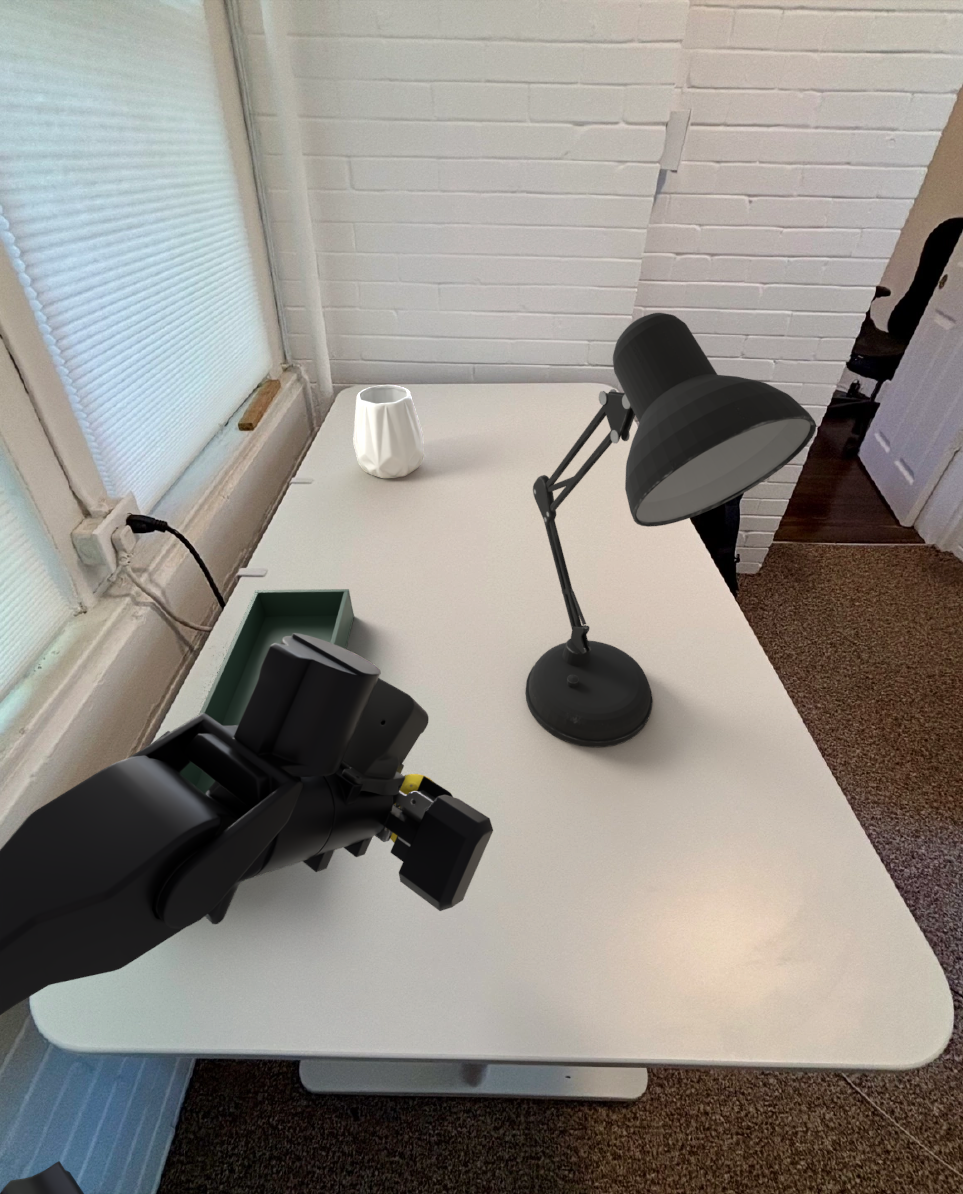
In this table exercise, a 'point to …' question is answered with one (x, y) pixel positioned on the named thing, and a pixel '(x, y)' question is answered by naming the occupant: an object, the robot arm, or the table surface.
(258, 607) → the green rectangular tray
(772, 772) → the table surface
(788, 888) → the table surface
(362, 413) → the vase
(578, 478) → the desk lamp
